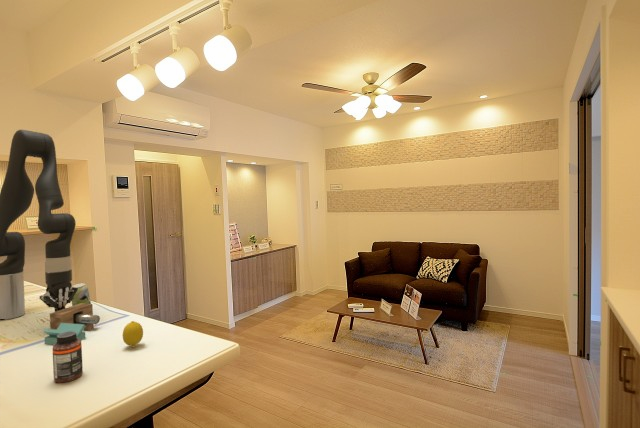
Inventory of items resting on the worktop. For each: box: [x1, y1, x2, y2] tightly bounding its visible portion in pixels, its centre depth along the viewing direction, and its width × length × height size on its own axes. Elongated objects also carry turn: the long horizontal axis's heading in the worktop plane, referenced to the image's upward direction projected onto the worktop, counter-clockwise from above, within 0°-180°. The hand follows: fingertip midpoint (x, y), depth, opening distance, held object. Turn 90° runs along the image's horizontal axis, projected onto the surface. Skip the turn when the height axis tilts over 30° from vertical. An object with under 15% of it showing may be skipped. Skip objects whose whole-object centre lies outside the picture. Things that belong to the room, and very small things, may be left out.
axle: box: [73, 314, 101, 325], centre depth 120 cm, size 14×3×3 cm, turn 79°
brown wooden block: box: [49, 303, 95, 331], centre depth 120 cm, size 10×12×7 cm
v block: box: [42, 323, 86, 346], centre depth 109 cm, size 9×7×5 cm
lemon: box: [122, 320, 144, 348], centre depth 104 cm, size 6×6×8 cm
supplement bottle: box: [52, 331, 84, 383], centre depth 86 cm, size 6×6×11 cm
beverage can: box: [71, 282, 92, 306], centre depth 136 cm, size 6×7×12 cm
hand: (60, 317), depth 121 cm, fingers closed
